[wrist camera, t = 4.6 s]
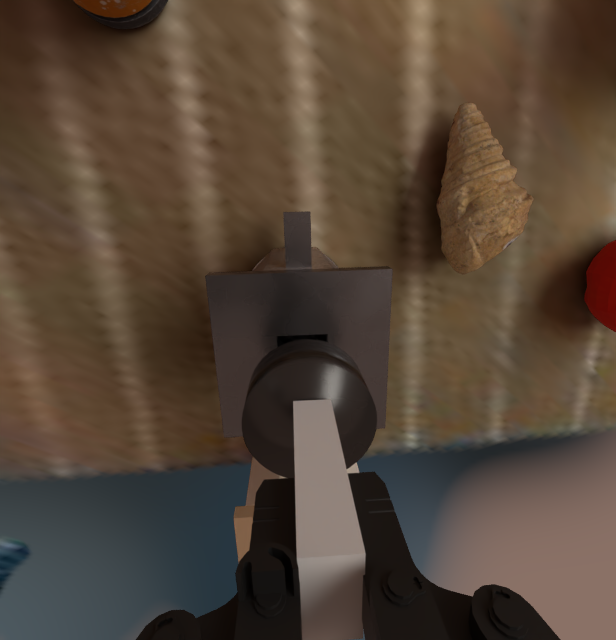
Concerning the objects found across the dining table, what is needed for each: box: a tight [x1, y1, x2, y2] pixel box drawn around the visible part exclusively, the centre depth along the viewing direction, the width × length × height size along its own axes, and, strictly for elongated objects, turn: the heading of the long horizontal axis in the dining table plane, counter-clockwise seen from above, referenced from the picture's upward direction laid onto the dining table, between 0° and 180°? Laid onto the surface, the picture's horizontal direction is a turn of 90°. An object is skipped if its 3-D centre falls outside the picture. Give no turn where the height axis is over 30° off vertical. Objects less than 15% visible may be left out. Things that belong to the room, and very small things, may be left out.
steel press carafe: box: [205, 212, 393, 437], centre depth 28 cm, size 10×14×16 cm
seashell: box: [436, 103, 533, 274], centre depth 30 cm, size 14×8×8 cm, turn 18°
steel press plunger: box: [242, 334, 377, 478], centre depth 22 cm, size 7×7×16 cm
